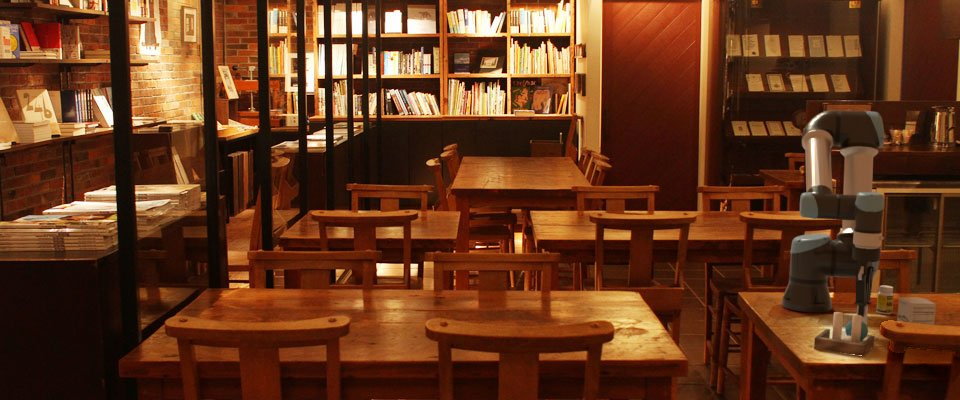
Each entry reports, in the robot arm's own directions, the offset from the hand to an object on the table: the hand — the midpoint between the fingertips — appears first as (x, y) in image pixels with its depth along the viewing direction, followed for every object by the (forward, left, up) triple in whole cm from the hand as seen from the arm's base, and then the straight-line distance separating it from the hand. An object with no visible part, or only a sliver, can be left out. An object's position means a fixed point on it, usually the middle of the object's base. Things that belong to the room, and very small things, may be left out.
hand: (861, 326), depth 299 cm
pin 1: (-2, -17, -2) cm, 18 cm away
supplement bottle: (0, +31, -2) cm, 31 cm away
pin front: (0, -14, -1) cm, 14 cm away
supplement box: (+15, -3, -2) cm, 15 cm away
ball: (+1, -10, +1) cm, 10 cm away
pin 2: (+2, -17, -2) cm, 18 cm away
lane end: (0, -19, -2) cm, 19 cm away
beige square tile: (0, -6, -2) cm, 6 cm away
